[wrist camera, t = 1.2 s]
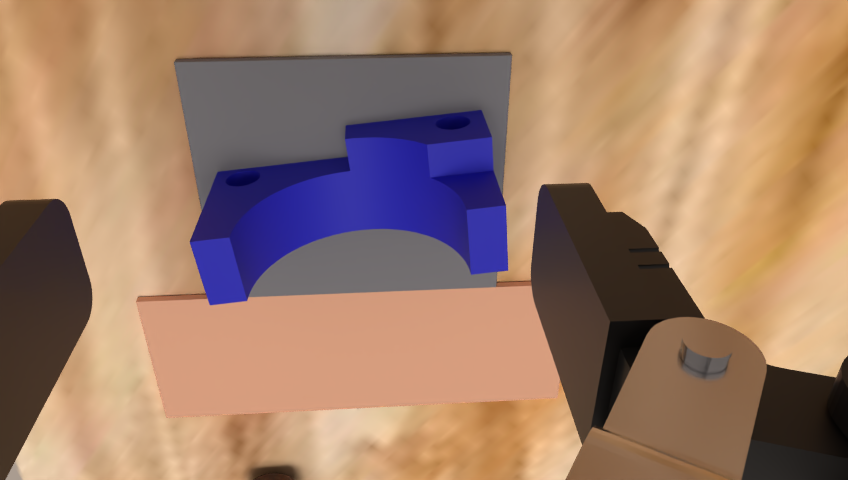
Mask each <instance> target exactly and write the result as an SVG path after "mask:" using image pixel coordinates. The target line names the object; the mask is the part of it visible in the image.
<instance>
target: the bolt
mask: <svg viewBox="0 0 848 480" xmlns="http://www.w3.org/2000/svg"><path fill="white" fill-rule="evenodd" d="M254 480H294V479H293V478H291V477H290V476H288V475H285V474H278V473H271V474H265V475H262V476H259V477H258V478H256V479H254Z"/></svg>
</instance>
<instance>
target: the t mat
mask: <svg viewBox="0 0 848 480" xmlns="http://www.w3.org/2000/svg"><path fill="white" fill-rule="evenodd" d="M511 62H512V55H511V53H467V54H417V55H366V56H316V57H265V58H214V59H176V60H175V62H174V65H175V70H176V75H177V81H178V86H179V91H180V97H181V102H182V108H183V113H184V118H185V124H186V129H187V134H188V140H189V145H190V151H191V156H192V161H193V167H194V172H195V177H196V183H197V188H198V193H199V199H200V204H201V210H203V207H204V205H205V202H206V200H207V197H208V195H209V192H210V190H211V187H212V185H213V182H214V179H215V177H216V174H217V172H220V171H228V170H237V169H246V168H254V167H263V166H272V165H281V164H289V163H298V162H307V161H315V160H324V159H333V158H342V157H348V155H347V148H346V142H345V130H346V125H354V124H363V123H371V122H380V121H389V120H398V119H407V118H415V117H424V116H433V115H442V114H450V113H459V112H468V111H477V110H482V112H483V115H484V117H485V120H486V123H487V125H488V128H489V130H490V133H491V136H492V147H493V169H494V173H495V176H496V179H497V182H498V184H499V187H500V190H501V193H503V179H504V164H505V149H506V135H507V120H508V106H509V91H510V76H511ZM496 281H497V272H491V273H482V274H474V275H471V273H470V270H469V267H468V266H467V264H466V262H465V261H464V259H463V258H462V257H461V256H460V255H459V254H458V253H457V252H456V251H455V250H454V249H453V248H451V247H450V246H448V245H447V244H445V243H443V242H441V241H439V240H437V239H435V238H432V237H429V236H427V235H423V234H420V233H416V232H410V231H404V230H394V229H369V230H358V231H351V232H345V233H341V234H336V235H332V236H329V237H325V238H322V239H319V240H316V241H314V242H311V243H309V244H306V245H304V246H302V247H300V248H298V249H296V250H294V251H292V252H290V253H289V254H287V255H285V256H284V257H282V258H281V259H279V260H278V261H276V262H275V263H274V264H273V265H271V266H270V267H269V268H268V269H267V270H266V271H265V272H264V273H263V274H262V275H261V276H260V278H259V279H258V280H257V282H256V283H255V285H254V286H253V288H252V290H251V292H250V294H249V297H248V300H247V301H243V302H235V303H226V304H218V305H209V301H208V298H207V295H206V294H202V295H178V296H153V297H138V299H137V301H136V303H137V307H138V311H139V315H140V319H141V323H142V326H143V330H144V334H145V338H146V342H147V345H148V349H149V353H150V357H151V361H152V364H153V368H154V372H155V376H156V380H157V383H158V387H159V391H160V395H161V399H162V403H163V406H164V410H165V414H166V418H175V417H194V416H214V415H234V414H253V413H273V412H292V411H312V410H332V409H351V408H371V407H391V406H410V405H430V404H449V403H469V402H489V401H508V400H528V399H547V398H557V397H558V390H559V382H560V377H559V375H558V372H557V369H556V366H555V363H554V360H553V357H552V354H551V351H550V348H549V345H548V342H547V339H546V336H545V333H544V330H543V327H542V324H541V321H540V318H539V315H538V312H537V309H536V306H535V303H534V299H533V294H532V285H531V281H524V282H500V283H496Z"/></svg>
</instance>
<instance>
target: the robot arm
mask: <svg viewBox="0 0 848 480" xmlns="http://www.w3.org/2000/svg"><path fill="white" fill-rule="evenodd" d="M531 285H532V294H533V299H534V303H535V306H536V309H537V312H538V315H539V318H540V321H541V324H542V327H543V330H544V333H545V336H546V339H547V342H548V345H549V348H550V351H551V354H552V357H553V360H554V363H555V366H556V369H557V372H558V375H559V377H560V380H561V383H562V386H563V389H564V392H565V395H566V398H567V401H568V404H569V407H570V410H571V413H572V416H573V419H574V422H575V425H576V428H577V431H578V434H579V437H580V440H581V443H582V447H581V449H580V451H579V453H578V455H577V457H576V459H575V461H574V463H573V466H572V468H571V470H570V472H569V474H568V476H567V478H566V480H848V356H847V357H846V358H845V359H844V361H843V363H842V365H841V368H840V370H839V372H838V375H837V377H836V378H835V377H829V376H824V375H818V374H812V373H806V372H801V371H795V370H789V369H784V368H779V367H775V366H771V365H768V364H766V360H765V358H764V356H763V354H762V352H761V351H760V349H759V348H758V347H757V345H755V344H754V343H753V342H752V341H751V340H750V339H749V338H748V337H746V336H745V335H744V334H742V333H740V332H739V331H737V330H735V329H733V328H731V327H729V326H727V325H724V324H722V323H719V322H716V321H712V320H708V319H705V318H704V316H703V315H702V313H701V312H700V310H699V309H698V307H697V306H696V304H695V303H694V301H693V299H692V298H691V296H690V295H689V293H688V292H687V290H686V289H685V287H684V286H683V284H682V283H681V281H680V280H679V278H678V276H677V275H676V273H675V272H674V270H673V269H672V268H669V263H668V261H667V260H666V258H665V257H664V255H663V254H662V252H659V247H658V246H657V244H656V243H655V241H654V240H653V238H652V237H651V235H650V234H649V232H648V231H647V229H646V228H645V227H643V226H642V225H641V224H639V223H638V222H636V221H635V220H633V219H632V218H630V217H629V216H627V215H626V214H625V213H623V212H606V210H605V208H604V207H603V205H602V203H601V202H600V200H599V198H598V196H597V195H596V193H595V191H594V190H593V188H592V186H591V185H590V184H589V183H574V184H544V185H542V186H541V188H540V191H539V196H538V203H537V213H536V223H535V233H534V243H533V253H532V263H531ZM91 308H92V288H91V282H90V279H89V275H88V272H87V269H86V266H85V262H84V259H83V256H82V252H81V249H80V246H79V242H78V239H77V236H76V233H75V229H74V226H73V223H72V219H71V216H70V213H69V211H68V209H67V207H66V205H65V204H64V203H63V202H62V201H61V200H59V199H42V200H11V201H5V202H3V203H2V204H1V205H0V480H5V479H6V477H7V475H8V473H9V472H10V469H11V467H12V466H13V464H14V462H15V460H16V458H17V456H18V454H19V452H20V450H21V449H22V447H23V445H24V443H25V441H26V439H27V437H28V435H29V433H30V431H31V429H32V428H33V426H34V424H35V422H36V420H37V418H38V416H39V414H40V412H41V410H42V408H43V407H44V405H45V403H46V401H47V399H48V397H49V395H50V393H51V391H52V389H53V387H54V385H55V384H56V382H57V380H58V378H59V376H60V374H61V372H62V370H63V368H64V366H65V364H66V363H67V361H68V359H69V357H70V355H71V353H72V351H73V349H74V347H75V345H76V343H77V341H78V340H79V338H80V336H81V334H82V332H83V330H84V328H85V326H86V324H87V322H88V320H89V317H90V314H91Z"/></svg>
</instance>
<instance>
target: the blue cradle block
mask: <svg viewBox="0 0 848 480" xmlns="http://www.w3.org/2000/svg"><path fill="white" fill-rule="evenodd" d="M345 142H346V148H347V155H348V157H342V158H333V159H324V160H315V161H307V162H298V163H289V164H281V165H272V166H263V167H254V168H246V169H237V170H228V171H220V172H217V174H216V177H215V179H214V182H213V185H212V187H211V190H210V192H209V195H208V197H207V200H206V202H205V205H204V207H203V210H202V212H201V215H200V217H199V220H198V222H197V225H196V228H195V230H194V233H193V235H192V238H191V240H190V244H191V248H192V251H193V254H194V257H195V260H196V263H197V267H198V270H199V273H200V276H201V279H202V282H203V286H204V289H205V292H206V295H207V298H208V301H209V305H218V304H226V303H235V302H243V301H247V300H248V297H249V294H250V292H251V290H252V288H253V286H254V285H255V283H256V282H257V280H258V279H259V278H260V276H261V275H262V274H263V273H264V272H265V271H266V270H267V269H268V268H269V267H270V266H271V265H273V264H274V263H275V262H276V261H278V260H279V259H281V258H282V257H284V256H285V255H287V254H289V253H290V252H292V251H294V250H296V249H298V248H300V247H302V246H304V245H306V244H309V243H311V242H314V241H316V240H319V239H322V238H325V237H329V236H332V235H336V234H341V233H345V232H351V231H358V230H369V229H394V230H404V231H410V232H416V233H420V234H423V235H427V236H429V237H432V238H435V239H437V240H439V241H441V242H443V243H445V244H447V245H448V246H450V247H451V248H453V249H454V250H455V251H456V252H457V253H458V254H459V255H460V256H461V257H462V258H463V259H464V261H465V262H466V264H467V266H468V267H469V270H470V273H471V275H474V274H482V273H491V272H499V271H508V252H507V223H506V204H505V201H504V199H503V196H502V193H501V190H500V187H499V184H498V182H497V179H496V176H495V173H494V169H493V147H492V136H491V133H490V130H489V128H488V125H487V123H486V120H485V117H484V115H483V112H482V110H477V111H468V112H459V113H450V114H442V115H433V116H424V117H415V118H407V119H398V120H389V121H380V122H371V123H363V124H354V125H346V130H345Z"/></svg>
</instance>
